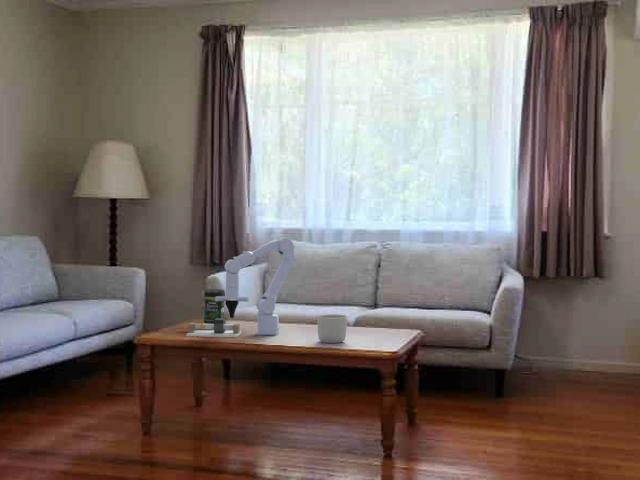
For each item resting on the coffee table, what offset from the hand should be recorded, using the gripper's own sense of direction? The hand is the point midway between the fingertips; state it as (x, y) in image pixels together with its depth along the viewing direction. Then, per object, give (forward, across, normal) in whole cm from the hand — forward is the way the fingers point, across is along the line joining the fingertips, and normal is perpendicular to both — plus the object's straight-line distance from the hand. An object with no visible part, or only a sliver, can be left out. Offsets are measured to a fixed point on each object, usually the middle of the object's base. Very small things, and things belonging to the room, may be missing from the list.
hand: (231, 317), depth 352 cm
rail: (+8, +8, 0) cm, 11 cm away
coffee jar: (+8, +12, -19) cm, 24 cm away
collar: (+6, +5, 0) cm, 8 cm away
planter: (+8, -45, +13) cm, 48 cm away
